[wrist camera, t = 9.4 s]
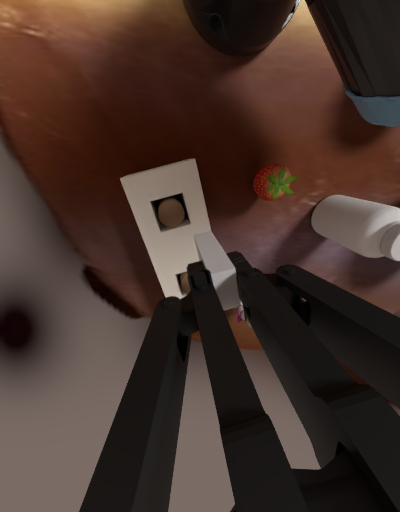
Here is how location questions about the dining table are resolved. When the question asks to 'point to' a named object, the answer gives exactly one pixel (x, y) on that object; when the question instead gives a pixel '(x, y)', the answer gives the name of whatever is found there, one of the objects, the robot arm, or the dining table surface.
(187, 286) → the peg
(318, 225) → the pill bottle
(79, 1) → the dining table surface
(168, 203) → the peg
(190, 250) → the socket block
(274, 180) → the fruit
